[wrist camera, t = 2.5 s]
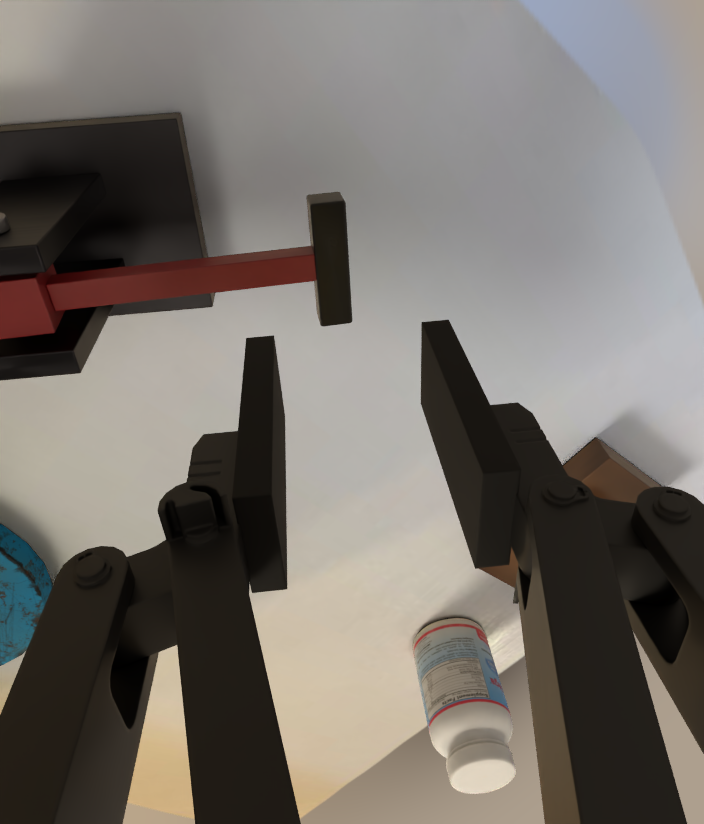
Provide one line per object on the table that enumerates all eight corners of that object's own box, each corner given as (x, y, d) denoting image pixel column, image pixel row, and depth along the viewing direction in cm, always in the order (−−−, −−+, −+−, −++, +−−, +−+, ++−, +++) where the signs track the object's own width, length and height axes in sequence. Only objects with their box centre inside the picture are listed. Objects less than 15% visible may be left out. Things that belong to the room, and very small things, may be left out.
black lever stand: (180, 112, 29) (138, 173, 20) (215, 295, 34) (193, 407, 25) (-91, 132, 29) (-256, 204, 20) (-15, 315, 34) (-119, 437, 25)
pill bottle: (482, 655, 55) (523, 793, 46) (411, 664, 55) (438, 804, 45) (486, 610, 52) (531, 749, 42) (411, 619, 51) (440, 761, 42)
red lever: (337, 187, 25) (348, 205, 23) (345, 304, 28) (354, 329, 26) (-42, 225, 23) (-65, 248, 22) (7, 345, 26) (-10, 375, 24)
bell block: (595, 437, 42) (622, 475, 39) (665, 488, 46) (695, 528, 42) (469, 544, 47) (483, 587, 44) (540, 584, 50) (558, 627, 47)
